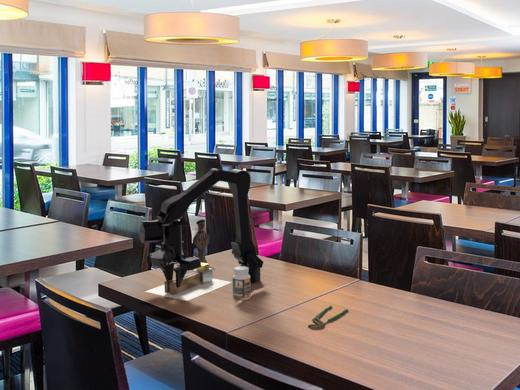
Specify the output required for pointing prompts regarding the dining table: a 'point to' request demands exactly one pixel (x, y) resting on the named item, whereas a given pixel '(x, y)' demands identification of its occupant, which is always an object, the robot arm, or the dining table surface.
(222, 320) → the dining table surface
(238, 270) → the pill bottle
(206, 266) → the block
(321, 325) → the pliers
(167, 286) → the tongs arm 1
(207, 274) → the hinge block
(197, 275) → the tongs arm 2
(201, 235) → the figurine
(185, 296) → the board
